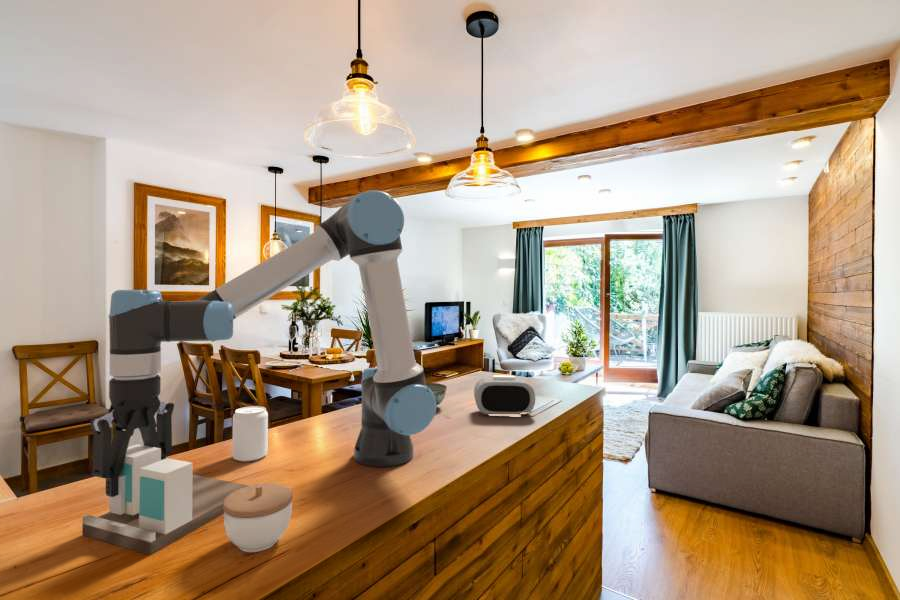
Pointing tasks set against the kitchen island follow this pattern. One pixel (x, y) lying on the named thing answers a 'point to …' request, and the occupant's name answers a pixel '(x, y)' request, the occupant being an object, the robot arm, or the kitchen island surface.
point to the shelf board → (129, 535)
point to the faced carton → (165, 495)
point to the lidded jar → (257, 515)
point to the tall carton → (136, 473)
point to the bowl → (437, 391)
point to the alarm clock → (504, 395)
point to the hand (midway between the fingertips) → (134, 504)
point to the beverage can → (250, 433)
